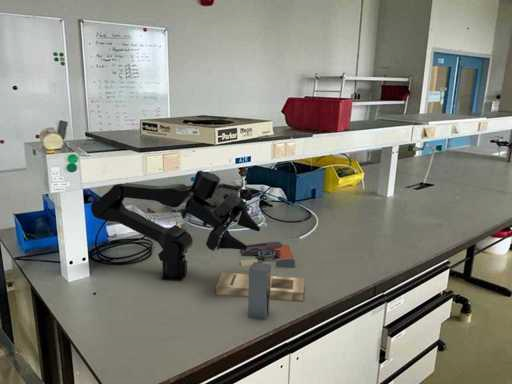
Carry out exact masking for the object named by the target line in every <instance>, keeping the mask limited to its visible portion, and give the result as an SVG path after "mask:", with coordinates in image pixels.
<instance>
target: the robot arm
mask: <svg viewBox="0 0 512 384" xmlns="http://www.w3.org/2000/svg"><path fill="white" fill-rule="evenodd" d="M220 183H221V178H220V177H219V176H218V175H217V174H215V173H211V172H208V171H203V170H197V171H196V174H195V177H194V180H193V182H192V184H191V185H186V184H184V183H175V184H167V185H159V186H158V185H150V184H138V183H131V182H130V183H129V182H126V184H119V183H116V184H117V185H116V184H114V185H112V187H111V188H110V189H109V190H108V191H107V192H105V193H104V194H103V195H102V196H101V197H100V198H99V199H97V200H94V201H93V202H92V203H91V205H90V211H91V214H92V215H91V216H93V217H94V218H95V219H98V220H101V221H103V222H112V223H113V222H115V223H119V224H121V225H122V226H125V227H127V228H128V229H131V230H133V231H135V232H137V233H138V234H141V235H143V236H145V237H146V238H149V239H151V240H153V241H155V242H156V243H158V244H159V246H160V247H161V249H162V250H161V251H160V252H159V253H158V254H157V256H158V258H159V260H160V262H161V263H162V275H161V277H160V279H161V280H166V281H167V280H168V281H169V280H170V281H183V279H184V278H185V276H187V274H188V272H189V271H188V260H187V259H186V255H185V254H187V253H188V250H189V249H190V248H192V245H193V243H194V240H193V237H192V234H191V233H189V232H188V229H184V228H181V227H180V226H179V225H176V224H174V225H173V226H171V227H169V228H168V227H164V226H163V225H161V224H158V223H156V222H155V221H152V220H150V219H148V218H146V217H144V216H142V215H140V214H138V213H136V212H134V211H132V210H130V209H128V208H126V206H125V205H124V203H123V202H124V200H125V198H126V199H134V200H135V199H136V200H145V201H154V202H157V203H160V204H161V205H162V206H165V207H169V208H178V207H180V206H182V205H183V204H185V206H184V207H182V208H181V209H180V210H179V211H180V213H181V218H182V219H185V218H187V217H189V216H190V215H191V216H192V217H194V218H196V219H198V220H200V221H201V222H203V223H202V226H203V227H207V226H210V227H212V228H213V229H211V230H210V232H209V235H208V237H207V240H206V242H205V245H206V248H207V249H209V250H211V251H212V252H214V251H215V250H218V251H219V250H220V249H221V250H222V249H223V250H224V249H225V250H228V249H229V250H231V249H232V250H240V249H242V250H246V249H247V246H246V245H247V244H245V243H244V242H242V241H240V240H239V239H237V238H235V237H234V236H233V235H231V234H230V232H229V229H228V228H229V227H230V226H231V225H232V224H233V223H236V225H238V226H240V227H244V228H247V229H250V230H252V231H256V232H260V231H261V227H260V226H259V224H257V223H256V222H255V220H254V219H253V218H252V217H251V215H249V213H248V206H247V205H248V203H247V202H246V201H244V200H243V199H239V200H237V199H238V196H237V194H235V193H234V192H232V191H229V190H228V191H226V193H224V195H223V200H222V201H221V203H220V202H218V201H215V202H214V203H212V202H210V201H209V199H212V198H214V195H215V193H216V191H217V188H218V186H219V184H220Z"/></svg>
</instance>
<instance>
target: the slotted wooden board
mask: <svg viewBox="0 0 512 384" xmlns="http://www.w3.org/2000/svg"><path fill="white" fill-rule="evenodd" d="M304 290H305V278H301V277H290V276H289V277H287V276H274V275H271V277H270V300H279V301H281V300H283V301H293V302H294V301H295V302H297V301H298V302H304ZM248 293H249V273H248V274H246V273H238V272H237V273H234V272H222V273H221V274H220V278H219V279H218V282H217V283H216V286H215V295H218V296H220V295H221V296H234V297H244V298H248Z"/></svg>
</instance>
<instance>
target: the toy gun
mask: <svg viewBox="0 0 512 384" xmlns="http://www.w3.org/2000/svg"><path fill="white" fill-rule="evenodd" d="M245 245H246V246H247V249H246V250H242V249H239V251H240V255H241V256H242V257H251V256H255V258H254V259H253V258H252V259H243V260H240V261H239V262H240V265H241V266H242V267H244V266H246V267H247V266H252V264H253V263H254V262H257V263H263V262H264V261H265V260H270V259H274V258H276V257H277V258H278V259H276V261H275V266H276V267H277V268H290V267H294V266H296V262H295V261H296V260H295V258H294V254H293V252H292V250H290V249H291V248H290V245H289V244H282V242H280V241H268V242H260V243H251V244H245Z"/></svg>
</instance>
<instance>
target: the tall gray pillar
mask: <svg viewBox="0 0 512 384" xmlns="http://www.w3.org/2000/svg"><path fill="white" fill-rule="evenodd" d="M271 267H272V264H270V263H263V262H260V263H257V262H254V263H253V264H252V265H250V267H249V268H248V274H249V293H248V297H247V300H248V302H247V303H248V305H247V307H248V309H247V317H248V318H251V319H252V318H253V319H258V320H263V321H266V319H267V315H268V314H269V313H270V308H271V307H270V305H271V304H270V300H271V299H270V277H271V276H272V275H271V274H272V273H271V271H272V268H271Z"/></svg>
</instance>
